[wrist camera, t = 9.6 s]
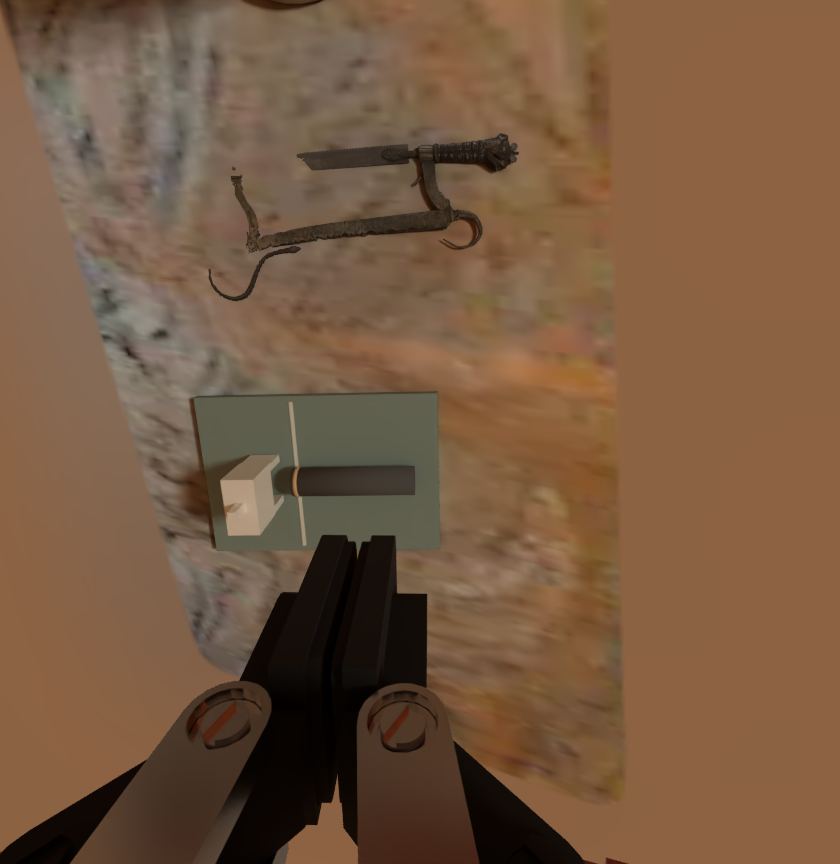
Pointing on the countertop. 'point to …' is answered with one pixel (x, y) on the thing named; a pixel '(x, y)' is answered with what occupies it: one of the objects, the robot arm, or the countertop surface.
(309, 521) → the cutting mat
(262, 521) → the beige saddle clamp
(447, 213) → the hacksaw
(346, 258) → the countertop surface
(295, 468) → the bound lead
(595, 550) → the countertop surface
